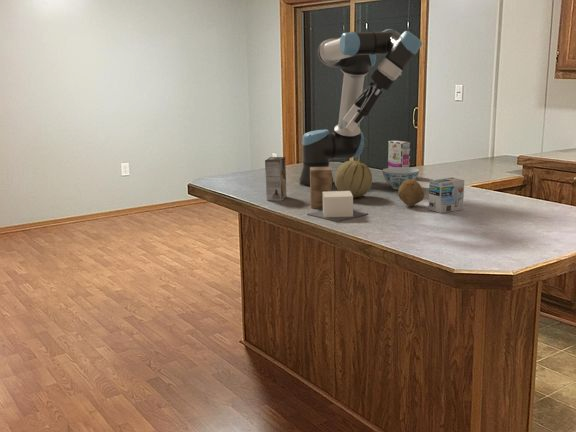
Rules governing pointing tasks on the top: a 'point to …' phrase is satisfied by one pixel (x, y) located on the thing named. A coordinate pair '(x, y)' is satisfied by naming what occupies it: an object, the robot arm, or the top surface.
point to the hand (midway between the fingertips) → (347, 125)
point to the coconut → (410, 192)
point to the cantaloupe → (353, 178)
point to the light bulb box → (446, 195)
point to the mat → (337, 219)
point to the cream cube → (337, 204)
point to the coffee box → (275, 178)
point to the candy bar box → (398, 154)
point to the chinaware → (399, 175)
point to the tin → (319, 184)
